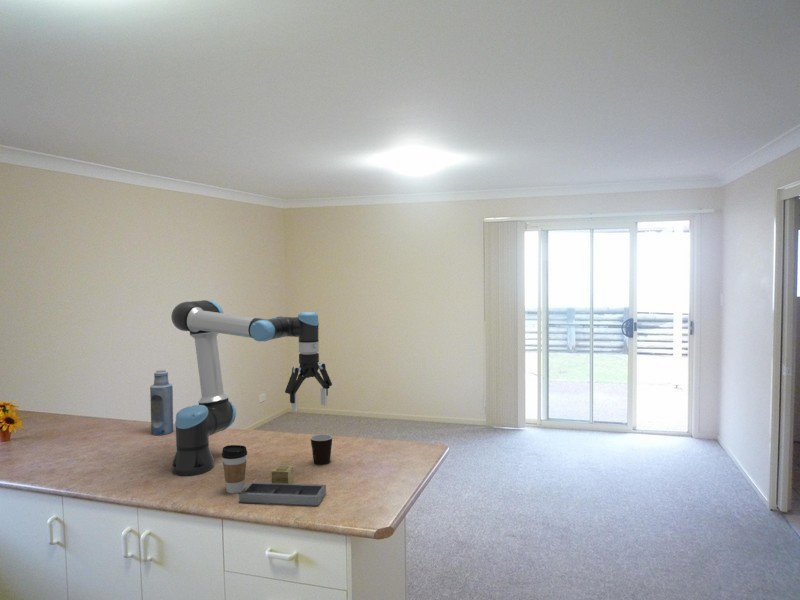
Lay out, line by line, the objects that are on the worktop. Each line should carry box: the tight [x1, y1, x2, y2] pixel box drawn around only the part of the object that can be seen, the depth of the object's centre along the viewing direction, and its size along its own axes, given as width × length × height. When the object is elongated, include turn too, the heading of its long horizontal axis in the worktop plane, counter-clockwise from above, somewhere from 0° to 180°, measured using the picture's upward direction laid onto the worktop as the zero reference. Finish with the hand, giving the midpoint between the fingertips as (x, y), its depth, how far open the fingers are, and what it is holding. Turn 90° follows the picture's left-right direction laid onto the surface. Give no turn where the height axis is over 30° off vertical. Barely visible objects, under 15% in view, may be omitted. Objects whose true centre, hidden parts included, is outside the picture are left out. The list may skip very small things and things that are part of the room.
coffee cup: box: [221, 444, 248, 494], centre depth 183 cm, size 8×8×15 cm
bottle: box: [149, 369, 174, 436], centre depth 251 cm, size 10×10×30 cm
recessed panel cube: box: [271, 464, 295, 484], centre depth 187 cm, size 6×6×6 cm
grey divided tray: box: [238, 481, 327, 507], centre depth 176 cm, size 26×10×3 cm, turn 83°
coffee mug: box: [310, 433, 333, 466], centre depth 211 cm, size 12×9×10 cm
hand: (309, 408), depth 201 cm, fingers open, 13 cm apart
